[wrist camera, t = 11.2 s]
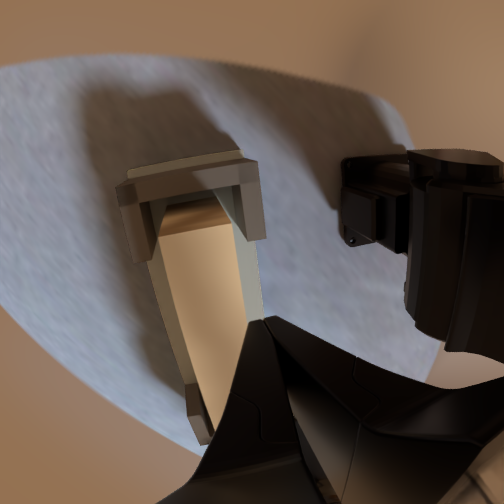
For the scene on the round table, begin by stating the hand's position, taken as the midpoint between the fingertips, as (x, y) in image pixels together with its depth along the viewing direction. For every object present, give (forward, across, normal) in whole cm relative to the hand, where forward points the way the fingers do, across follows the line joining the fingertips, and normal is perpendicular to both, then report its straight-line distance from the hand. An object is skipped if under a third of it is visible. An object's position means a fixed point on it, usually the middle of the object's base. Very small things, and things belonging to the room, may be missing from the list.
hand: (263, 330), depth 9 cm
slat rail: (+12, +2, +6) cm, 13 cm away
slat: (+11, +2, +6) cm, 13 cm away
